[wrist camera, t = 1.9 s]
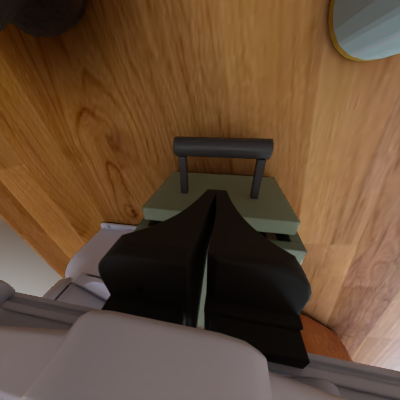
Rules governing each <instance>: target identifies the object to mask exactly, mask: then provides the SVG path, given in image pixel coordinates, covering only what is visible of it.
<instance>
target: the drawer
mask: <svg viewBox="0 0 400 400" xmlns="http://www.w3.org/2000/svg"><path fill="white" fill-rule="evenodd" d="M173 149H174V153H175V155H176V156H179V157H178V159H179V172H173V173H172V174H171V175H170V176H169V177H168V178H167V180H166V181H165V182H164V183H163V184H162V185H161V186H160V188H159V189H158V190H157V191H156V192H155V193H154V194H153V196H152V197H151V198H150V199H149V200H148V201H147V203H146V204H145V205H144V206H143V207H142V209H143V213H144V217H145V219H147V220H157V221H162V222H163V221H165V220H167V219H169V218H171V217H173V216H175V215H177V214H178V213H180V212H182V211H183V210H185V209H186V208H187V207H189V206H190V205H191V204H192V203H194V202H195V201H196V200H197V199H198V198H199V197H200V196H201V195H202V194H203V193H204V192H205V191H206V190H207V189H214V190H226V191H227V192H228V195H229V197H230V199H231V201H232V203H233V204H234V206H235V207H236V209H237V210H238V212H239V213H240V214H241V216H242V217H243V218H244V219H245V220H246V221H247V222H248V223H249V224H250V225H251V226H252V227H253V228H254V229H255V230H256V231H258V232H259V233H260V234H261V235H263V236H264V237H265V238H267V239H269V240H277V237H276V234H275V233H279V234H289V235H295V234H296V232H297V229H298V227H299V225H300V221H299V219H298V218H297V216H296V214H295V212H294V211H293V209H292V207H291V206H290V204H289V202H288V201H287V199H286V197H285V195H284V194H283V192H282V190H281V189H280V187H279V185H278V183H277V182H276V180H275V178H274V177H263V172H264V168H265V163H266V160H265V159H270V157H271V155H272V152H273V139H259V138H214V137H175V138H174V142H173ZM187 156H196V157H221V158H245V159H256V164H255V170H254V176H241V175H223V174H205V173H188V164H187Z"/></svg>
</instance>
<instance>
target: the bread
mask: <svg viewBox="0 0 400 400" xmlns="http://www.w3.org/2000/svg"><path fill="white" fill-rule="evenodd" d="M299 315H300V318H301V322H302V325H303V330H302V331H301V334H302V338H303V341H304V344H305V348H306V351H307V353H312V354H317V355H322V356H327V357H332V358H336V359H341V360H346V361H351V362H353V361H352V359H351V357H350V355H349V353H348V352H347V350H346V348H345V346H344V345H343V343H342V342H341V340H340V339H339V338H338V336H337V335H336V334H335V333H334V332H332V331H331V330H329V329H328V328H326V327H325V326H323V325H321V324H319V323H318V322H316V321H314V320H312V319H311V318H309V317H307V316H304V315H301V314H299Z"/></svg>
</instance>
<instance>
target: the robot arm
mask: <svg viewBox="0 0 400 400" xmlns="http://www.w3.org/2000/svg"><path fill="white" fill-rule="evenodd" d="M101 227H102V229H101V230H100V231H99V232H98V233H97V234H96V235H95V236H93V237H92V238H91V239H90V240H89V241H88V242H87V243H86V244H85V245H84V246H83V247H82V248H81V249H80V250H79V251H78V252H77V253H76V254H75V255H74V256H73V257H72V259H71V260H70V262H69V264H68V266H67V269H66V273H65V278H64V279H61V280H59V281H58V282H57V283H56V284H55V285H54V286H53V287H52V288H51V289H50V290H49V291H48V292H47V293H46V294H45V295H44V296H43V297H37V296H32V295H27V294H22V293H17V292H15V290H14V289H13V288H12V287H11V286H10V285H9V284H8V283H6V282H4V281H2V280H0V400H400V372H399V371H394V370H390V369H385V368H380V367H375V366H370V365H365V364H361V363H356V362H351V361H346V360H341V359H336V358H332V357H327V356H322V355H317V354H312V353H307V351H306V348H305V344H304V341H303V338H302V334H301V331H302V330H303V325H302V322H301V318H300V315H299V314H300V313H301V311H302V310H303V308H304V307H305V305H306V304H307V302H308V301H309V299H310V296H311V294H312V292H311V286H310V284H309V282H308V279H307V277H306V275H305V273H304V271H303V269H302V267H301V265H300V264H299V262H298V260H297V258H296V257H295V256H294V255H292V254H291V253H289V252H287V251H286V250H284V249H282V248H281V247H279V246H277V245H276V244H274V243H273V242H271V241H270V240H268V239H267V238H265V237H264V236H263V235H261V234H260V233H259V232H258V231H256V230H255V229H254V228H253V227H252V226H251V225H250V224H249V223H248V222H247V221H246V220H245V219H244V218H243V217H242V216H241V214H240V213H239V212H238V210H237V209H236V207H235V206H234V204H233V203H232V201H231V199H230V197H229V195H228V192H227V191H226V190H214V189H207V190H206V191H205V192H204V193H203V194H202V195H201V196H200V197H199V198H198V199H197V200H196V201H195V202H194V203H192V204H191V205H190V206H189V207H187V208H186V209H185V210H183V211H182V212H180V213H178V214H177V215H175V216H173V217H171V218H169V219H167V220H165V221H163V222H160V223H158V224H155V225H153V226H150V227H147V228H144V229H141V230H138V231H134V230H135V229H136V227H137V226H132V225H123V224H114V223H105V222H103V223H101ZM206 259H207V288H206V298H205V305H204V330H203V329H198V328H197V326H198V318H199V310H200V302H201V294H202V287H203V280H204V272H205V265H206Z"/></svg>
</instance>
